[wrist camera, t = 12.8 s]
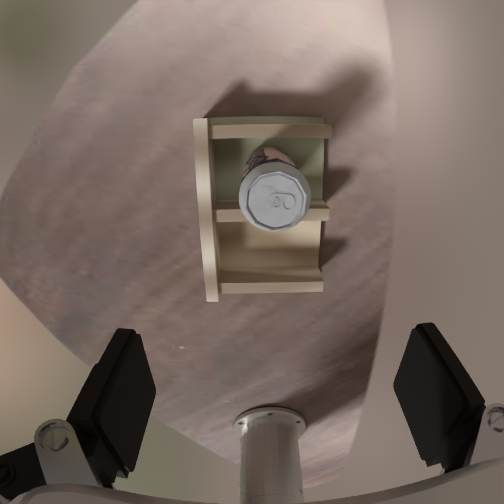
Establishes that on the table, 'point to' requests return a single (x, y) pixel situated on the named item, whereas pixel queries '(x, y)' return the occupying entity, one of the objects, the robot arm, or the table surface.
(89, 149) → the table surface
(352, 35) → the table surface
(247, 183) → the beer can
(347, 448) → the table surface
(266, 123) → the comb rack
